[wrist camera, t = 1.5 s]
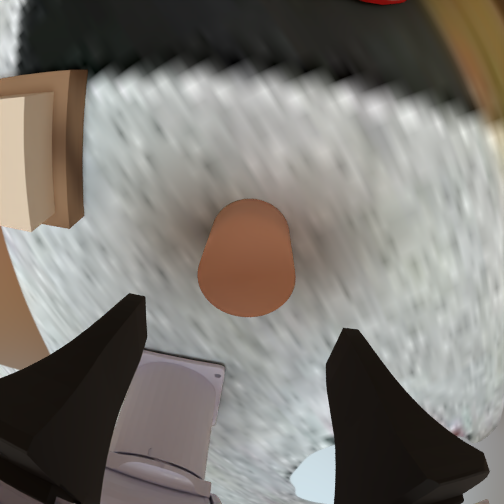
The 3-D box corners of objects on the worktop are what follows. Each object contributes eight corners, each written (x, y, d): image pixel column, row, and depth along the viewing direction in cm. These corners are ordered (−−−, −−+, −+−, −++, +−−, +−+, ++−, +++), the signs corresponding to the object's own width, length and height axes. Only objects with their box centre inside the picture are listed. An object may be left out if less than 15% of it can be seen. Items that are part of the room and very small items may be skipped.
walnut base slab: (88, 212, 19) (69, 228, 16) (-4, 198, 18) (-24, 211, 16) (93, 69, 14) (70, 70, 12) (-8, 80, 14) (-31, 85, 12)
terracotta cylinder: (280, 273, 20) (283, 322, 16) (207, 261, 19) (194, 308, 15) (297, 206, 17) (306, 245, 13) (217, 192, 17) (202, 227, 13)
